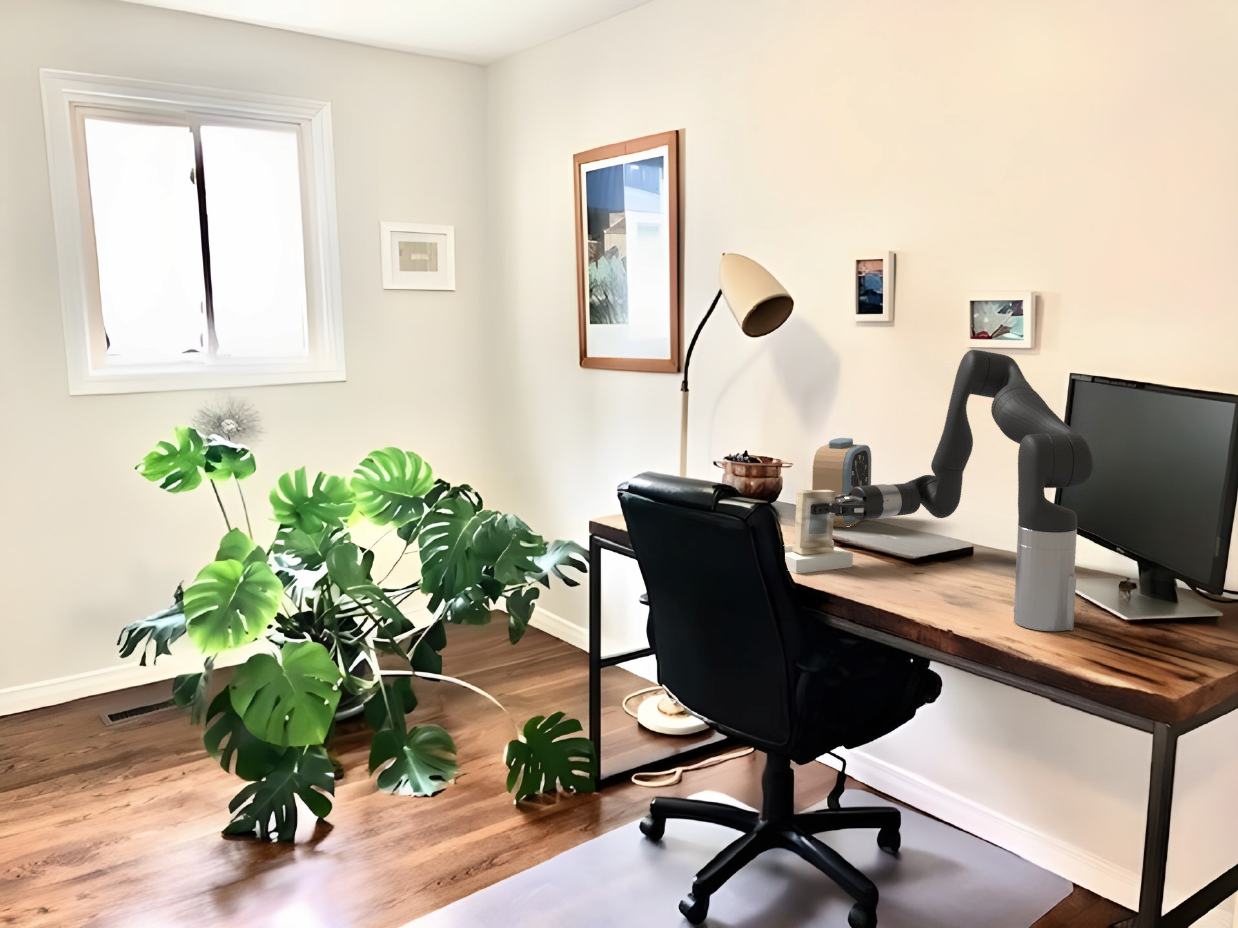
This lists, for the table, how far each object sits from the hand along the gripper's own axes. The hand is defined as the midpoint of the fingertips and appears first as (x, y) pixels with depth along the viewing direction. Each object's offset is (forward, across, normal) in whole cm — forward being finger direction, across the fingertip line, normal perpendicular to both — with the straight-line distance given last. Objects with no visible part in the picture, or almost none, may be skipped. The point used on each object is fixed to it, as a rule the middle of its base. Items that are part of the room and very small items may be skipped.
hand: (807, 508), depth 205 cm
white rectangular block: (-2, 0, +13) cm, 13 cm away
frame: (-2, 0, +10) cm, 10 cm away
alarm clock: (-33, -35, +13) cm, 50 cm away
